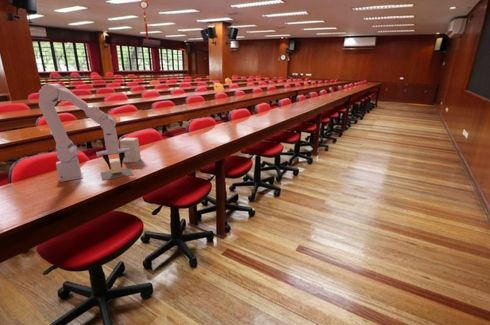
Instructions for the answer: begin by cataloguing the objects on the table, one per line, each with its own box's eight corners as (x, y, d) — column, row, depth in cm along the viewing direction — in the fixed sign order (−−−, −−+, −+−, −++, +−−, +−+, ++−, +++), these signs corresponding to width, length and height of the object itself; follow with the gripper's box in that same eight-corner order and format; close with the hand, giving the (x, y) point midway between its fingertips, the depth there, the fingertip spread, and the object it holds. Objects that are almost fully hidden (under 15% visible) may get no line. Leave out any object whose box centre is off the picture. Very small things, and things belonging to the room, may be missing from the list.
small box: (141, 159, 161) (138, 137, 156) (137, 162, 155) (134, 140, 150) (127, 159, 161) (124, 137, 157) (122, 162, 155) (119, 140, 151)
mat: (102, 180, 130) (102, 180, 130) (100, 172, 140) (100, 172, 139) (133, 175, 136) (133, 174, 136) (129, 167, 146) (129, 167, 146)
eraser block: (111, 173, 134) (110, 162, 132) (110, 169, 139) (109, 159, 137) (121, 171, 136) (120, 161, 134) (120, 168, 141) (118, 158, 139)
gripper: (126, 138, 139) (130, 163, 143) (94, 141, 132) (99, 168, 137) (128, 141, 133) (132, 167, 138) (94, 145, 127) (100, 172, 131)
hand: (115, 168), depth 137 cm, fingers closed on eraser block, 4 cm apart
